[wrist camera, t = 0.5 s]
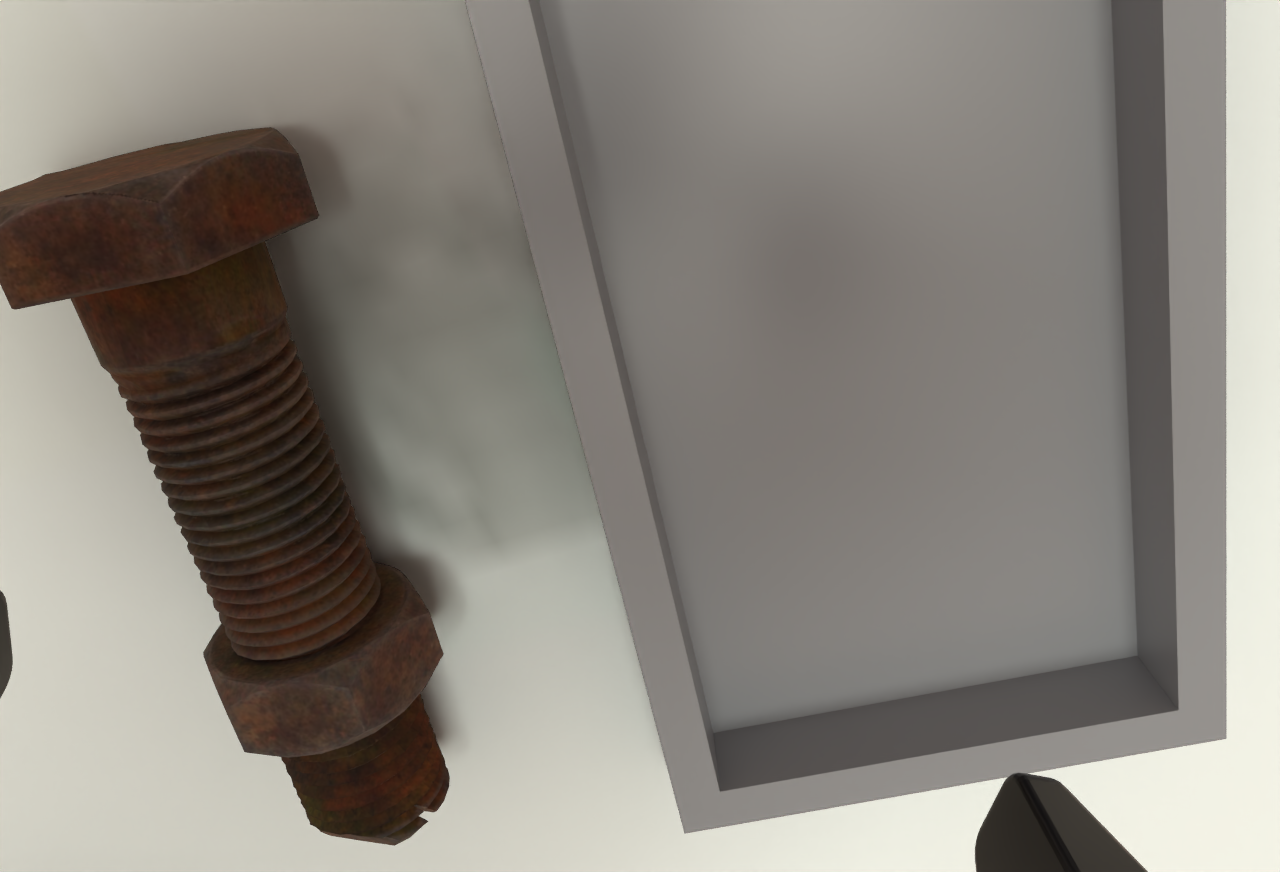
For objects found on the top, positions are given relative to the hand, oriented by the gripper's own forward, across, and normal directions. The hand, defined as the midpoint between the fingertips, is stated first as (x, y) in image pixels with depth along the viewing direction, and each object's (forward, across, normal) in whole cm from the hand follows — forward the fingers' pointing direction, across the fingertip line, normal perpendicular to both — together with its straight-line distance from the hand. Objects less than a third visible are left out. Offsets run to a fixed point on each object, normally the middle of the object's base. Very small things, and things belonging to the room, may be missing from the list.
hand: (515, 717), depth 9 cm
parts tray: (+14, -5, 0) cm, 14 cm away
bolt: (+13, +6, +7) cm, 16 cm away
